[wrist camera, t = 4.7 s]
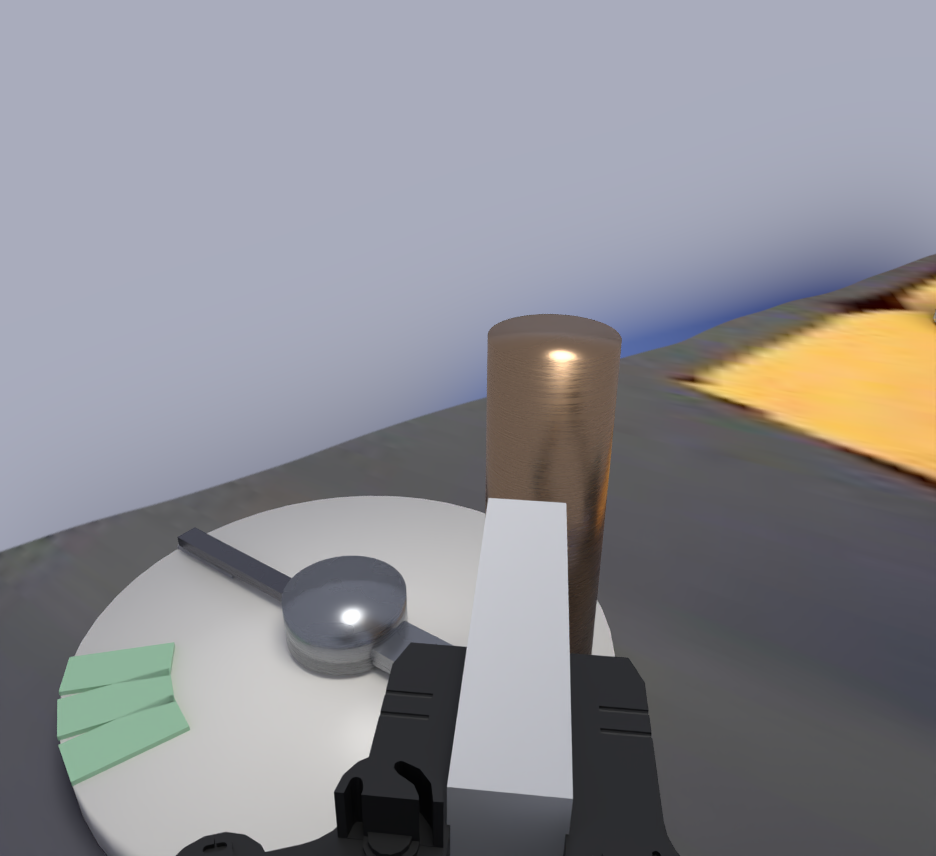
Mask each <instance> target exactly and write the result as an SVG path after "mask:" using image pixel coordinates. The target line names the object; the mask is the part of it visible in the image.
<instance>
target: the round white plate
mask: <svg viewBox="0 0 936 856" xmlns="http://www.w3.org/2000/svg"><path fill="white" fill-rule="evenodd" d="M484 525H485V513H482V512H479V511H476V510H473V509H469V508H465V507H461V506H457V505H453V504H449V503H444V502H438V501H432V500H426V499H419V498H408V497H397V496H356V497H340V498H331V499H323V500H315V501H310V502H304V503H299V504H294V505H288V506H285V507H281V508H277V509H273V510H269V511H265V512H262V513H259V514H256V515H253V516H250V517H247V518H244V519H241V520H238V521H235V522H233V523H230V524H228V525H225V526H223V527H221V528H218V529H216V530H214V531H211V532H209V533H207V534H209V535H210V536H212V537H214V538H216V539H218V540H220V541H222V542H224V543H226V544H228V545H230V546H231V547H233V548H235V549H237V550H239V551H241V552H243V553H245V554H247V555H249V556H251V557H252V558H254V559H256V560H258V561H260V562H262V563H264V564H266V565H268V566H270V567H272V568H273V569H275V570H277V571H279V572H281V573H283V574H285V575H287V576H289V577H291V578H292V577H294V576H295V575H296V574H297V573H298V572H300V571H301V570H302V569H304V568H306V567H307V566H310V565H312V564H314V563H316V562H319V561H322V560H325V559H329V558H333V557H339V556H365V557H371V558H375V559H378V560H381V561H383V562H386V563H388V564H389V565H391V566H393V567H394V568H395V569H396V570H397V571H398V572H399V573H400V574H401V575H402V577H403V579H404V581H405V584H406V594H407V617H408V623H410V624H412V625H414V626H416V627H418V628H420V629H422V630H424V631H426V632H428V633H430V634H432V635H434V636H436V637H438V638H440V639H442V640H444V641H446V642H448V643H450V644H452V645H453V646H463V647H467V644H468V637H469V630H470V623H471V616H472V609H473V602H474V595H475V588H476V581H477V574H478V567H479V560H480V553H481V546H482V539H483V532H484ZM177 546H178V549H177V550H176V551H174V552H172V553H171V554H169V555H168V556H166V557H164V558H163V559H161V560H160V561H158V562H157V563H156V564H154V565H153V566H152V567H150V568H149V569H148V570H146V571H145V572H144V573H142V574H141V575H140V576H138V577H137V578H136V579H135V580H134V581H133V582H132V583H130V584H129V585H128V586H127V587H126V588H125V589H124V590H123V591H122V592H121V593H120V594H119V595H118V596H116V597H115V599H114V600H113V601H112V602H111V603H110V604H109V605H108V607H107V608H106V609H105V610H104V611H103V612H102V614H101V615H100V616H99V617H98V618H97V619H96V621H95V622H94V624H93V625H92V627H91V628H90V630H89V631H88V633H87V634H86V636H85V637H84V639H83V640H82V642H81V644H80V646H79V648H78V650H77V652H76V654H75V656H74V657H70V658H69V661H68V664H67V667H66V671H65V674H64V677H63V680H62V683H61V686H60V689H59V695H60V696H61V699H58V700H57V738H58V741H59V740H60V743H61V744H59V745H58V746H59V749H60V752H61V755H62V757H63V760H64V763H65V766H66V769H67V772H68V775H69V778H70V781H71V784H72V786H73V788H74V791H75V794H76V797H77V800H78V803H79V806H80V809H81V812H82V815H83V818H84V820H85V822H86V823H87V825H88V827H89V829H90V830H91V832H92V834H93V836H94V838H95V839H96V841H97V843H98V845H99V846H100V847H101V848H102V849H103V851H104V852H105V853H106V854H107V855H108V856H176V855H177V854H178V853H179V852H180V851H181V850H182V849H183V848H184V847H186V846H188V845H189V844H191V843H193V842H195V841H197V840H198V839H200V838H202V837H204V836H208V835H213V834H217V833H222V832H231V833H238V834H245V835H247V836H249V837H250V838H252V839H253V840H255V841H256V842H258V843H260V844H261V845H262V847H263V849H264V851H265V852H267V851H272V850H277V849H281V848H286V847H291V846H295V845H300V844H304V843H307V842H310V841H313V840H316V839H319V838H320V837H322V836H324V835H326V834H327V833H329V832H331V831H333V830H334V829H335V828H336V827H337V823H336V811H335V800H334V791H335V789H336V787H337V785H338V783H339V781H340V779H341V777H342V775H343V774H344V773H345V772H347V771H348V770H349V769H350V768H351V767H352V766H353V765H355V764H356V763H357V762H358V761H360V760H363V759H365V758H368V757H369V754H370V750H371V746H372V742H373V738H374V734H375V730H376V726H377V723H378V719H379V716H380V711H381V707H382V703H383V699H384V695H385V694H386V687H387V684H388V680H389V676H390V674H389V673H387V672H385V671H383V670H381V669H380V668H378V667H375V668H373V669H370V670H368V671H364V672H360V673H356V674H349V675H330V674H323V673H319V672H316V671H313V670H310V669H308V668H306V667H304V666H303V665H301V664H300V663H298V662H297V661H296V660H295V659H294V658H293V656H292V655H291V653H290V651H289V649H288V646H287V641H286V634H285V626H284V619H283V612H282V603H281V602H280V601H279V600H277V599H275V598H273V597H271V596H269V595H268V594H266V593H264V592H262V591H260V590H259V589H257V588H255V587H253V586H251V585H250V584H248V583H246V582H244V581H242V580H240V579H239V578H237V577H235V576H233V575H231V574H230V573H228V572H226V571H224V570H222V569H221V568H219V567H217V566H215V565H213V564H211V563H210V562H208V561H206V560H204V559H202V558H201V557H199V556H197V555H195V554H193V553H192V552H190V551H188V550H186V549H184V548H182V547H181V546H179V545H177ZM592 655H599V656H612V657H615V654H614V649H613V643H612V638H611V632H610V629H609V626H608V624H607V621H606V618H605V616H604V613H603V610H602V608H601V606H600V604H599V603H598V601H597V604H596V615H595V625H594V636H593V646H592Z"/></svg>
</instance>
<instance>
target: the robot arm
mask: <svg viewBox="0 0 936 856" xmlns="http://www.w3.org/2000/svg"><path fill="white" fill-rule="evenodd" d="M334 800H335V811H336V823H337V827H336V828H335V829H334V830H333V831H331V832H329V833H327V834H326V835H324V836H322V837H320V838H319V839H316V840H313V841H310V842H307V843H304V844H300V845H295V846H291V847H286V848H281V849H277V850H272V851H267V852H265V851H264V849H263V847H262V845H261V844H260V843H258V842H256V841H255V840H253V839H252V838H250V837H249V836H247V835H245V834H238V833H231V832H222V833H217V834H213V835H208V836H204V837H202V838H200V839H198V840H197V841H195V842H193V843H191V844H189V845H188V846H186V847H184V848H183V849H182V850H181V851H180V852H179V853H178V854H177V855H176V856H680V855H679V854H678V853H677V852H676V850H675V849H674V847H673V845H672V843H671V841H670V840H669V838H668V836H667V832H666V829H665V825H664V821H663V814H662V807H661V799H660V792H659V785H658V777H657V770H656V763H655V755H654V748H653V741H652V738H651V726H650V718H649V715H648V704H647V696H646V689H645V682H644V681H643V679H642V678H641V676H640V675H639V673H638V672H637V670H636V669H635V667H634V666H633V664H632V663H631V661H630V660H629V658H624V657H612V656H599V655H587V654H574V653H570V645H569V601H568V556H567V512H566V503H559V502H544V501H529V500H513V499H498V498H488V504H487V511H486V518H485V525H484V532H483V539H482V546H481V553H480V560H479V567H478V574H477V581H476V588H475V595H474V602H473V609H472V616H471V623H470V630H469V637H468V644H467V647H463V646H450V645H438V644H425V643H413V642H411V643H410V644H409V645H408V646H407V647H406V649H405V650H404V651H403V652H402V653H401V654H400V656H399V657H398V658H397V659H396V660H395V662H394V663H393V664H392V668H391V672H390V676H389V680H388V684H387V687H386V694H385V695H384V699H383V703H382V707H381V711H380V716H379V719H378V723H377V726H376V730H375V734H374V738H373V742H372V746H371V750H370V754H369V757H368V758H365V759H363V760H360V761H358V762H357V763H356V764H355V765H353V766H352V767H351V768H350V769H349V770H348V771H347V772H345V773H344V774H343V775H342V777H341V779H340V781H339V783H338V785H337V787H336V789H335V791H334Z"/></svg>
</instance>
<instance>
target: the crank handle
mask: <svg viewBox="0 0 936 856" xmlns="http://www.w3.org/2000/svg"><path fill="white" fill-rule="evenodd" d="M621 342H622V338H621V336H620V335H619V333H618V332H617V331H616V330H615V329H613V328H612V327H610V326H608V325H606V324H604V323H601V322H598V321H595V320H592V319H588V318H582V317H578V316H570V315H558V314H538V315H527V316H520V317H515V318H511V319H508V320H505V321H502V322H500V323H498V324H496V325H494V326H493V327H492V328H491V329H490V331H489V332H488V359H487V433H486V508H485V518H486V511H487V504H488V498H498V499H513V500H529V501H544V502H559V503H566V512H567V556H568V601H569V645H570V653H574V654H587V655H592V646H593V636H594V625H595V615H596V604H597V594H598V583H599V573H600V562H601V552H602V541H603V531H604V520H605V510H606V500H607V489H608V479H609V468H610V458H611V447H612V437H613V426H614V416H615V405H616V395H617V385H618V374H619V364H620V353H621ZM178 542H179V546H181V547H182V548H184V549H186V550H188V551H190V552H192V553H193V554H195V555H197V556H199V557H201V558H202V559H204V560H206V561H208V562H210V563H211V564H213V565H215V566H217V567H219V568H221V569H222V570H224V571H226V572H228V573H230V574H231V575H233V576H235V577H237V578H239V579H240V580H242V581H244V582H246V583H248V584H250V585H251V586H253V587H255V588H257V589H259V590H260V591H262V592H264V593H266V594H268V595H269V596H271V597H273V598H275V599H277V600H279V601H280V602H281V603H282V612H283V619H284V626H285V634H286V641H287V646H288V649H289V651H290V653H291V655H292V656H293V658H294V659H295V660H296V661H297V662H298V663H300V664H301V665H303V666H304V667H306V668H308V669H310V670H313V671H316V672H319V673H323V674H330V675H349V674H356V673H360V672H364V671H368V670H370V669H373V668H375V667H378V668H380V669H381V670H383V671H385V672H387V673H389V674H390V672H391V668H392V664H393V663H394V662H395V660H396V659H397V658H398V657H399V656H400V654H401V653H402V652H403V651H404V650H405V649H406V647H407V646H408V645H409V644H410V643H411V642H413V643H425V644H438V645H450V646H453V645H452V644H450V643H448V642H446V641H444V640H442V639H440V638H438V637H436V636H434V635H432V634H430V633H428V632H426V631H424V630H422V629H420V628H418V627H416V626H414V625H412V624H410V623H408V617H407V594H406V584H405V581H404V579H403V577H402V575H401V574H400V573H399V572H398V571H397V570H396V569H395V568H394V567H393V566H391V565H389V564H388V563H386V562H383V561H381V560H378V559H375V558H371V557H365V556H339V557H333V558H329V559H325V560H322V561H319V562H316V563H314V564H312V565H310V566H307V567H306V568H304V569H302V570H301V571H300V572H298V573H297V574H296V575H295V576H294V577H292V578H291V577H289V576H287V575H285V574H283V573H281V572H279V571H277V570H275V569H273V568H272V567H270V566H268V565H266V564H264V563H262V562H260V561H258V560H256V559H254V558H252V557H251V556H249V555H247V554H245V553H243V552H241V551H239V550H237V549H235V548H233V547H231V546H230V545H228V544H226V543H224V542H222V541H220V540H218V539H216V538H214V537H212V536H210V535H209V534H207V533H205V532H203V531H201V530H199V529H197V528H193V529H191V530H189V531H188V532H186V533H184V534H182V535H180V536H179V537H178Z"/></svg>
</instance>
